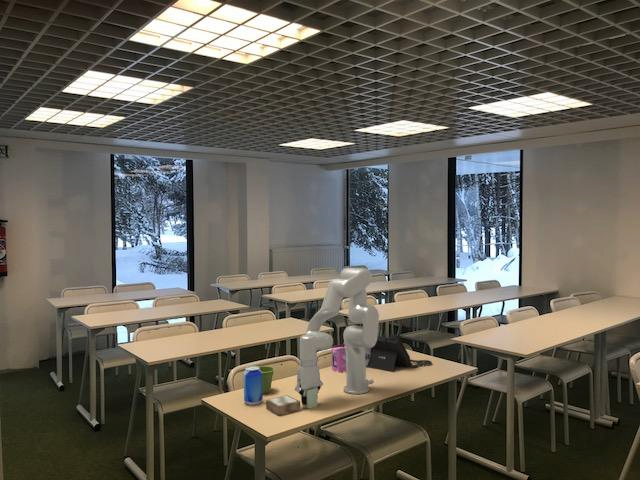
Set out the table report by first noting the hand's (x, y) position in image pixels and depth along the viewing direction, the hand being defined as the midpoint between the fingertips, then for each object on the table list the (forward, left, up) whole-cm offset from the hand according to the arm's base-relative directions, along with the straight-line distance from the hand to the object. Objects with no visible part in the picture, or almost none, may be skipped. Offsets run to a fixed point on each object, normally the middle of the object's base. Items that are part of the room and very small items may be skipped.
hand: (309, 402), depth 231 cm
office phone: (-78, -24, -1) cm, 81 cm away
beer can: (+18, -20, -2) cm, 27 cm away
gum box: (-53, -37, -2) cm, 65 cm away
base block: (+12, -3, -1) cm, 12 cm away
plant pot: (+7, -31, -2) cm, 32 cm away
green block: (0, 0, -2) cm, 2 cm away
